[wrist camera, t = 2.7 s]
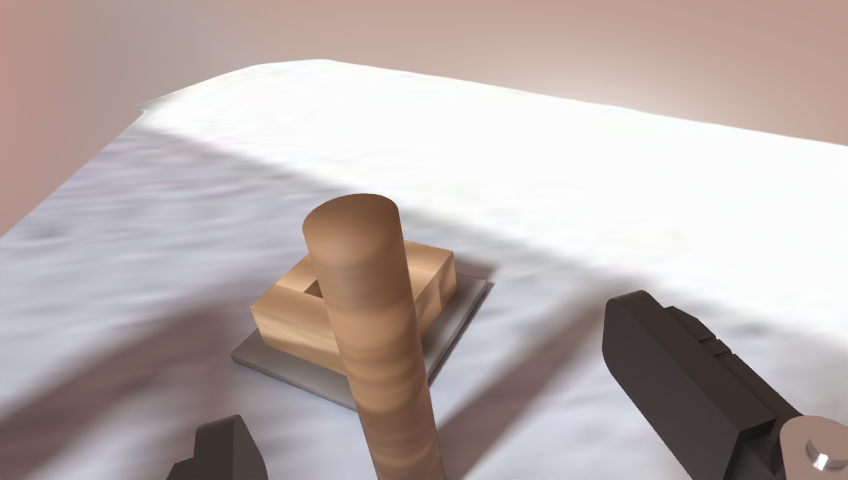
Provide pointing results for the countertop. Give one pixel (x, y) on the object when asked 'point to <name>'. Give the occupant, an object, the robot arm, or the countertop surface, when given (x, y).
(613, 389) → the countertop surface
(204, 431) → the robot arm
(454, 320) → the socket block
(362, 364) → the peg
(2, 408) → the countertop surface
